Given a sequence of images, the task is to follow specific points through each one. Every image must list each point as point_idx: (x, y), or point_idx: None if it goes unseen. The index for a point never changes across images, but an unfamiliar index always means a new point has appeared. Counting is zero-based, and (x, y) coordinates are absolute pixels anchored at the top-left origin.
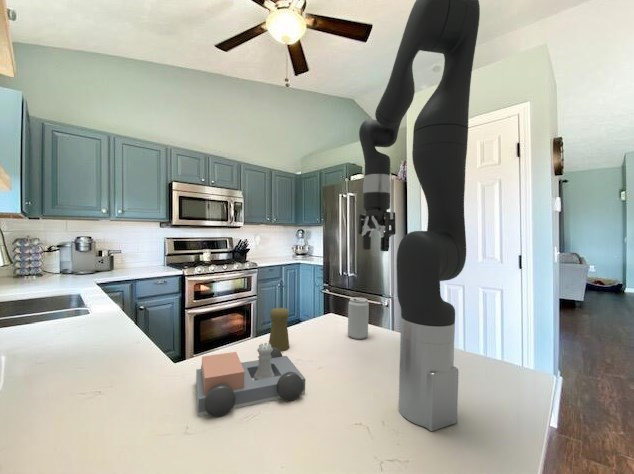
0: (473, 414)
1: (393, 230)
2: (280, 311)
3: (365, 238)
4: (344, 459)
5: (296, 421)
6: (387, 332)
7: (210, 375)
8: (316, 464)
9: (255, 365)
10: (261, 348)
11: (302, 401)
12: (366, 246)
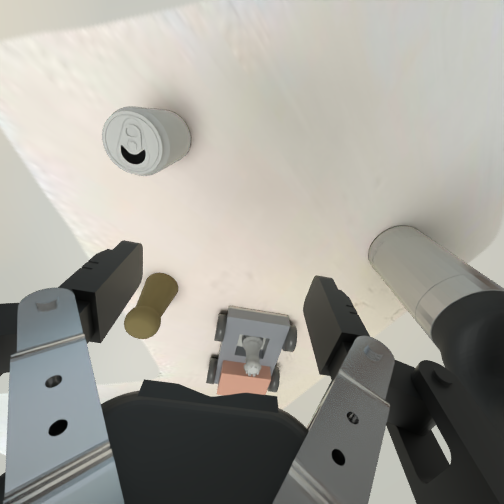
0: (441, 210)
1: (454, 406)
2: (152, 333)
3: (107, 325)
4: (370, 332)
5: None
6: (173, 28)
7: None
8: None
9: (233, 348)
10: (255, 374)
11: (297, 322)
12: (134, 278)
